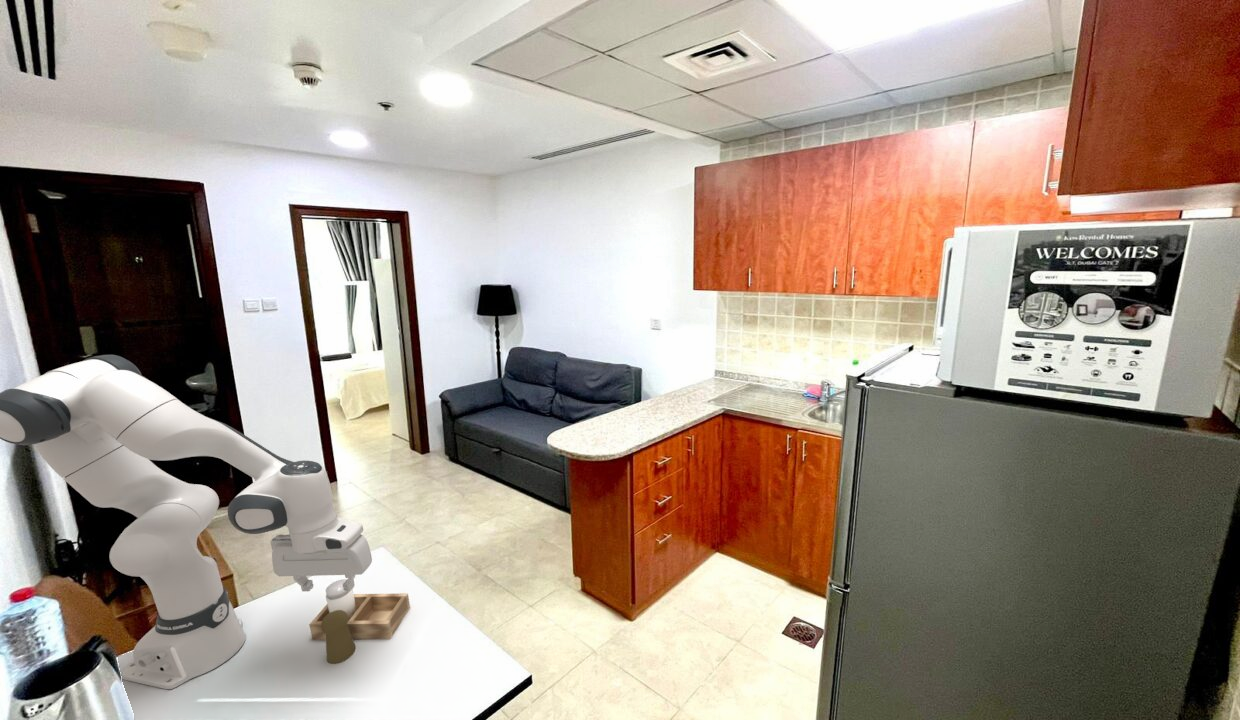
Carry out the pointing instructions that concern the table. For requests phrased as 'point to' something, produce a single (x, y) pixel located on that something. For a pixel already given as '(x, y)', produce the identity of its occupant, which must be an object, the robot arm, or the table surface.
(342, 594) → the salt shaker
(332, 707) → the table surface
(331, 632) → the cork
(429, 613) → the table surface
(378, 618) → the caddy
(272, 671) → the table surface
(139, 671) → the robot arm
